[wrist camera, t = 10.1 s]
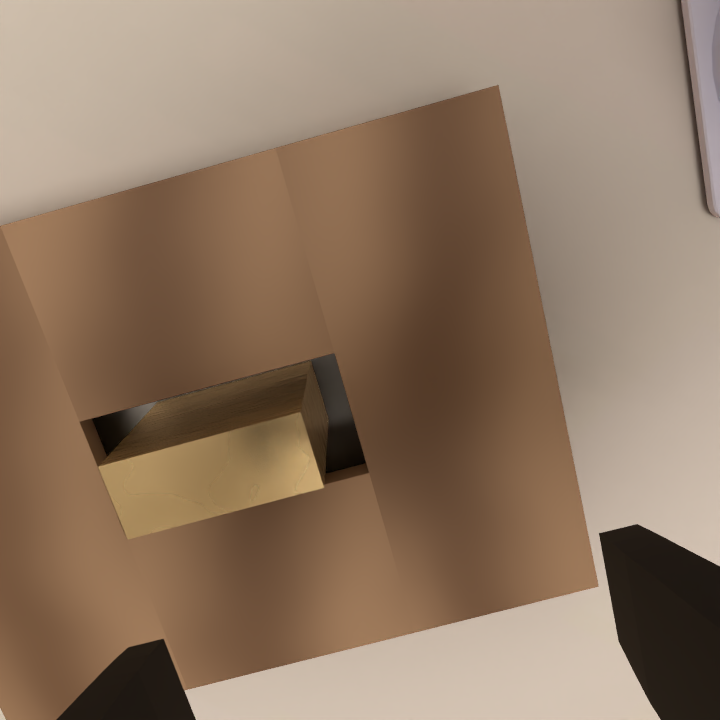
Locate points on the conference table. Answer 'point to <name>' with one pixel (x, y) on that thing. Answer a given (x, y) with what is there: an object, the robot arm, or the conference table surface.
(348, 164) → the wooden board with recess
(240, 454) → the wooden block
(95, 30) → the conference table surface
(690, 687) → the robot arm
